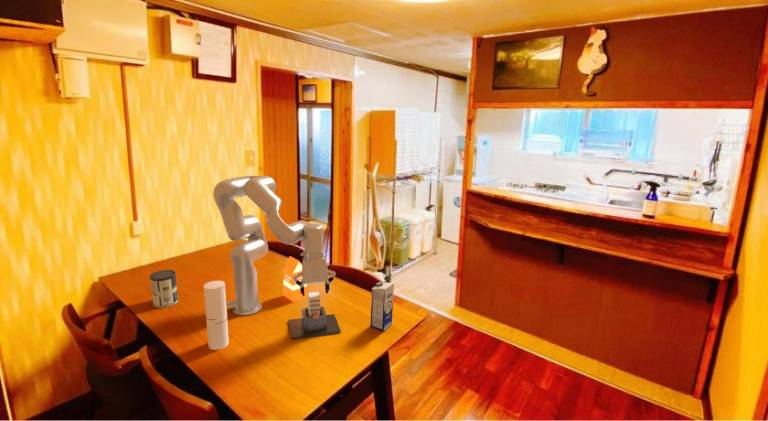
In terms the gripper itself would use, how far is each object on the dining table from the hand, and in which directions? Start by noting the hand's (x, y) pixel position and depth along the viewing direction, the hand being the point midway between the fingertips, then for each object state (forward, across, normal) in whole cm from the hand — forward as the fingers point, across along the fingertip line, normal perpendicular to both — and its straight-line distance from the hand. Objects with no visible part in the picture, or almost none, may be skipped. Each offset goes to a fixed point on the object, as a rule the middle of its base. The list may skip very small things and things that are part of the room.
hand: (315, 293), depth 156 cm
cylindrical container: (+15, -38, -2) cm, 41 cm away
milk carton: (+16, +27, -5) cm, 32 cm away
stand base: (+16, -1, +1) cm, 16 cm away
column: (+15, -1, 0) cm, 15 cm away
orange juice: (+16, -6, +31) cm, 35 cm away
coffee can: (+14, -64, +39) cm, 76 cm away
